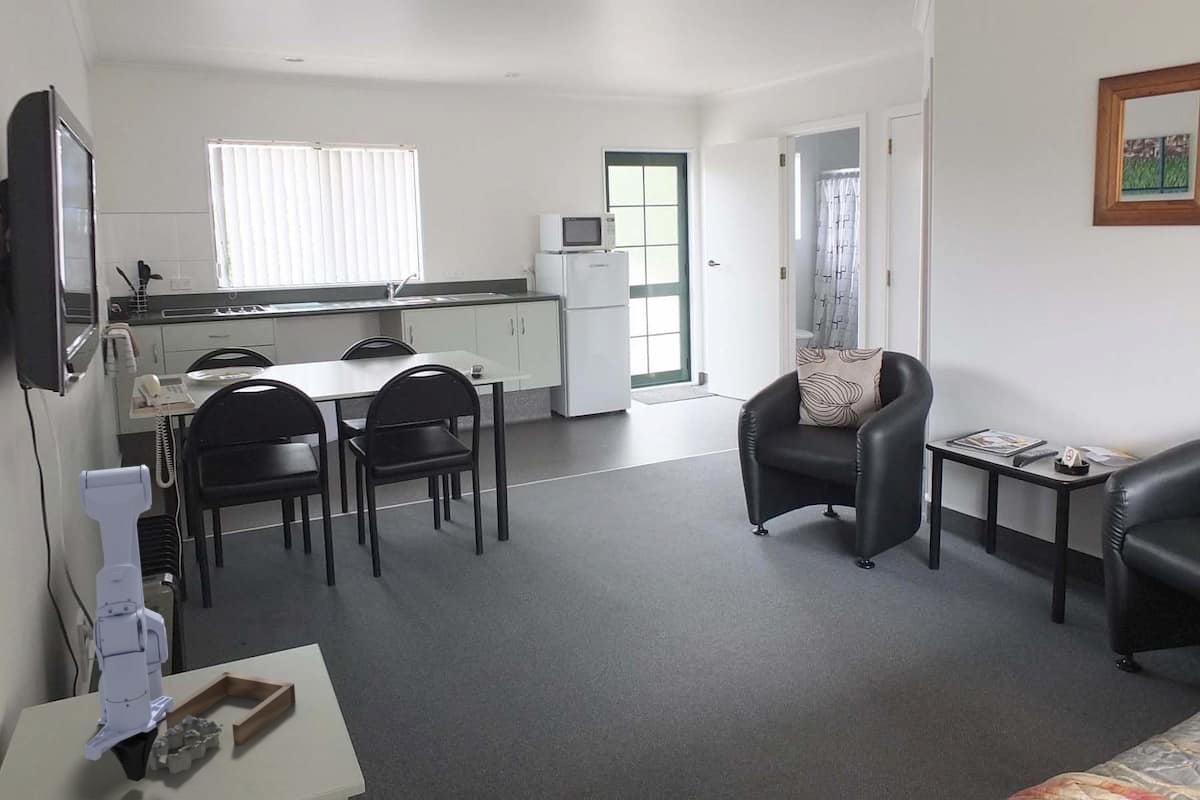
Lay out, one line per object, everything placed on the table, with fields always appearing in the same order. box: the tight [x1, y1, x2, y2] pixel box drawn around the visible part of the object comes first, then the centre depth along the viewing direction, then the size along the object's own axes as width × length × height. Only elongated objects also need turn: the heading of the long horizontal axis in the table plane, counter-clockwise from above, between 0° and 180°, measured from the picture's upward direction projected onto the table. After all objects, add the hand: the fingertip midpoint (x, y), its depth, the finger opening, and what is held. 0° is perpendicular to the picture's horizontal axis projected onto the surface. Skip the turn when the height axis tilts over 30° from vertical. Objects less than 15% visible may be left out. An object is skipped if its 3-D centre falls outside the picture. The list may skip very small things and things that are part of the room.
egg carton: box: [149, 715, 224, 774], centre depth 144 cm, size 11×8×4 cm
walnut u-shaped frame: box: [165, 671, 296, 746], centre depth 155 cm, size 14×14×4 cm
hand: (136, 777), depth 135 cm, fingers closed
